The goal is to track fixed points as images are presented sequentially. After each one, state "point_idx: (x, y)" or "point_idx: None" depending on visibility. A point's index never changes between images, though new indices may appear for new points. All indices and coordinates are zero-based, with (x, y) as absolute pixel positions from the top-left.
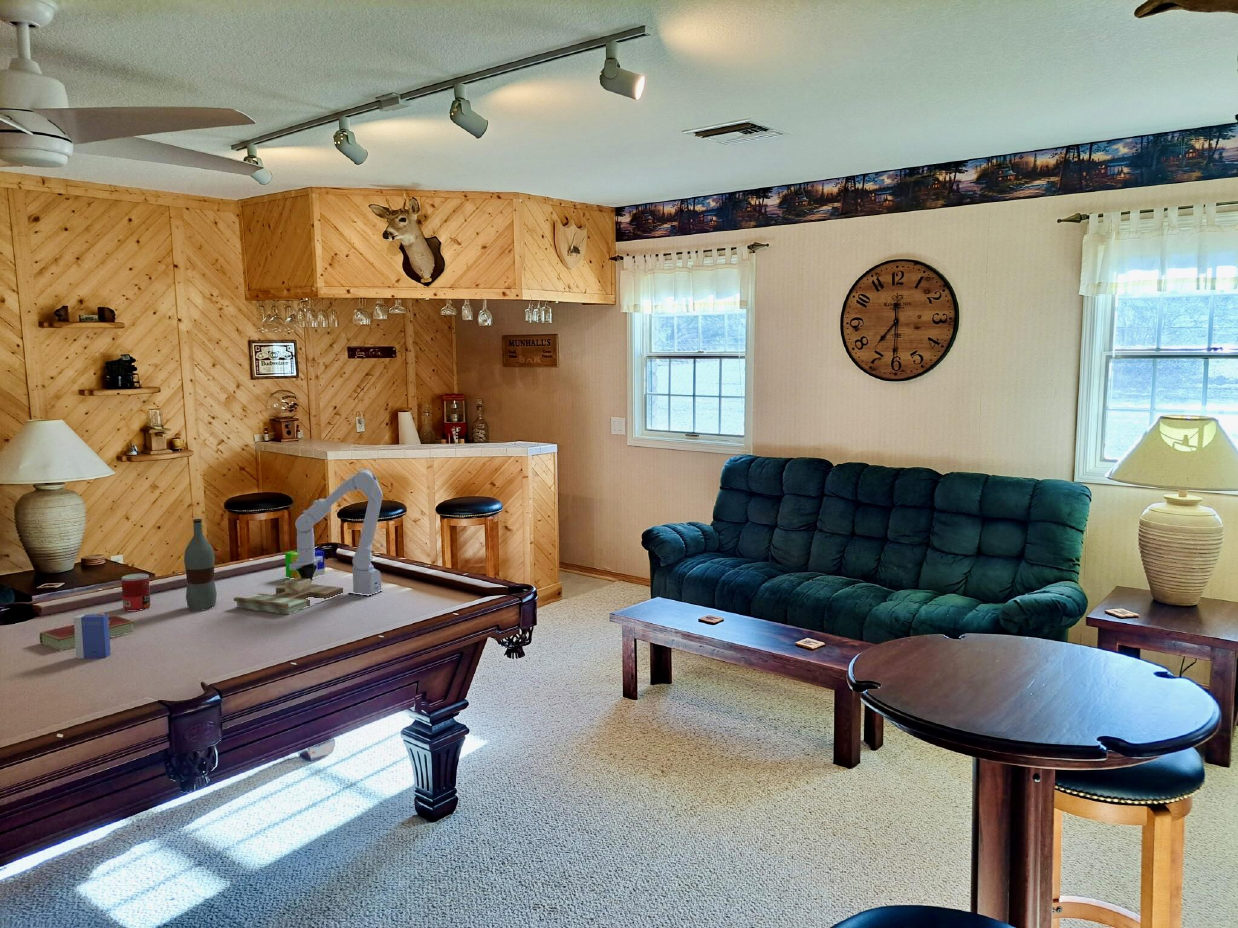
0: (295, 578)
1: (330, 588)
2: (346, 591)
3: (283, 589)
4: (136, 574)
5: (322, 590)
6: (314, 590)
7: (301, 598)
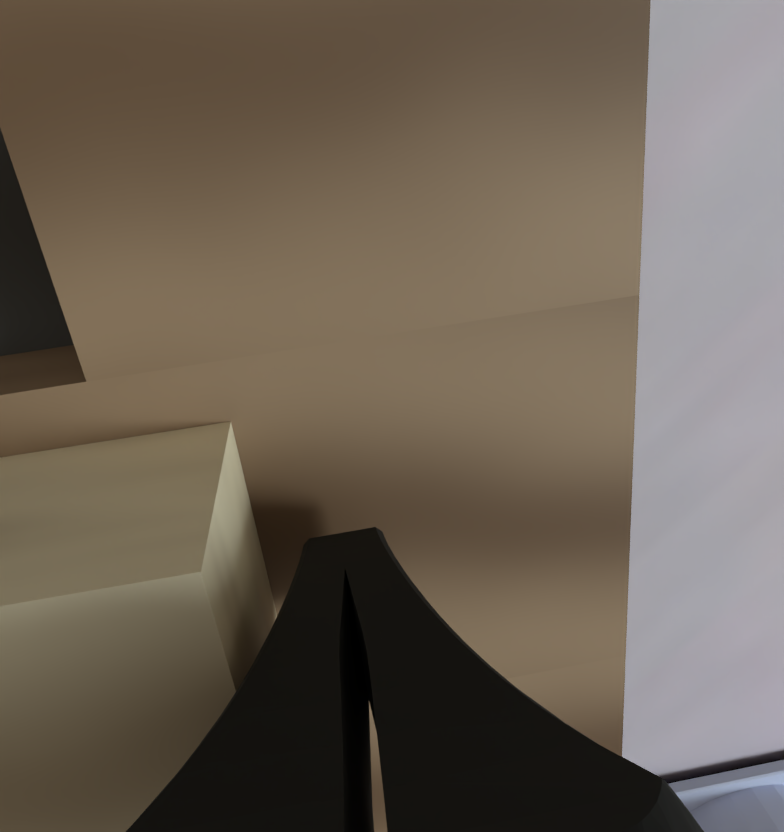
0: (88, 619)
1: None
2: (713, 702)
3: (16, 138)
4: None
5: (376, 797)
6: None
7: None
